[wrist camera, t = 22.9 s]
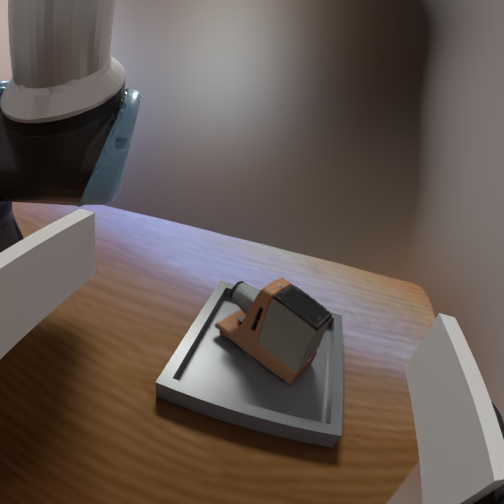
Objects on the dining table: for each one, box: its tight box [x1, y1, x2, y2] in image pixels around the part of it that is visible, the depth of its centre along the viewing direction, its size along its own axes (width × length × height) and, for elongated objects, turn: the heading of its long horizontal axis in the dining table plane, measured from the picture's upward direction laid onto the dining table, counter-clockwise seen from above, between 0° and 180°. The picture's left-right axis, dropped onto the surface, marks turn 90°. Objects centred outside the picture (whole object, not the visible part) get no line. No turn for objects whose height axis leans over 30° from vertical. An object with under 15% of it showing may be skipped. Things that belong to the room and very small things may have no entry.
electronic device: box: [215, 278, 332, 384], centre depth 28 cm, size 4×10×8 cm, turn 52°
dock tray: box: [156, 281, 343, 448], centre depth 29 cm, size 15×17×2 cm
